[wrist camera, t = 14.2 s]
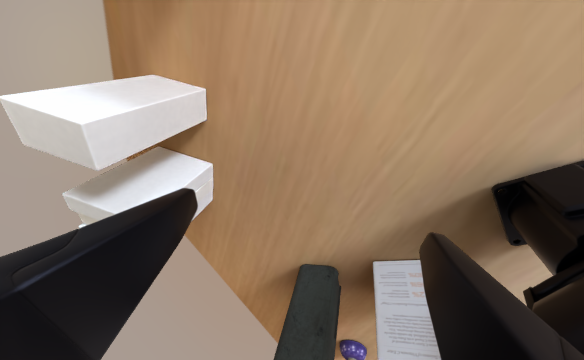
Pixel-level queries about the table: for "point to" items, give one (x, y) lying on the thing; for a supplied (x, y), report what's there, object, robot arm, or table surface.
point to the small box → (402, 312)
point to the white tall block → (105, 117)
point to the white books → (141, 184)
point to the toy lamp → (352, 350)
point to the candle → (311, 316)
